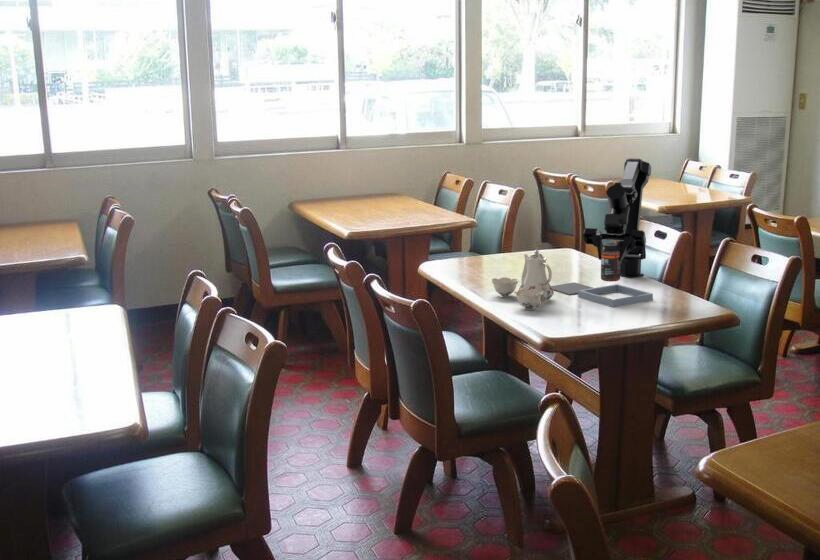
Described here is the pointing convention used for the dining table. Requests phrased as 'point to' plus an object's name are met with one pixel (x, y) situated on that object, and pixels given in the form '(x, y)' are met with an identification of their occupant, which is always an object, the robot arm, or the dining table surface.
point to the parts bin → (635, 298)
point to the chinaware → (528, 283)
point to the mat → (570, 288)
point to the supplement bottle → (610, 263)
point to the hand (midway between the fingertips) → (609, 259)
